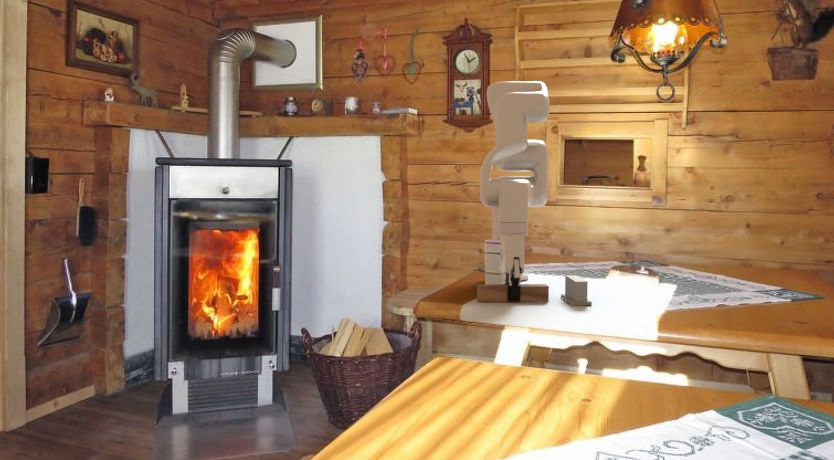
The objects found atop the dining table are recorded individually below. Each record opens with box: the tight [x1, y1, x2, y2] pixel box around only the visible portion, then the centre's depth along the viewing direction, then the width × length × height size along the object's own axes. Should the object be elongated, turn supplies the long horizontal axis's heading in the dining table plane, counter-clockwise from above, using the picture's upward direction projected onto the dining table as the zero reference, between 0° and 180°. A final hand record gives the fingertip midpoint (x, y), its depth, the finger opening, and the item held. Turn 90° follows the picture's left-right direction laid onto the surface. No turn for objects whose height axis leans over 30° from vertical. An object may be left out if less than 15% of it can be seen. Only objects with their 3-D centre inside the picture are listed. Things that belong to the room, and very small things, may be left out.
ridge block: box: [560, 274, 593, 306], centre depth 181 cm, size 11×5×6 cm, turn 3°
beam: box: [476, 283, 550, 303], centre depth 183 cm, size 4×18×4 cm, turn 93°
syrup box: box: [484, 238, 505, 284], centre depth 198 cm, size 6×6×14 cm
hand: (512, 298), depth 183 cm, fingers closed on beam, 3 cm apart
